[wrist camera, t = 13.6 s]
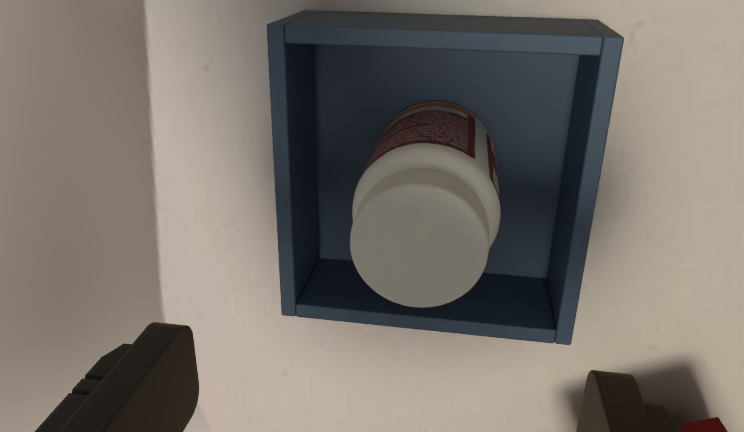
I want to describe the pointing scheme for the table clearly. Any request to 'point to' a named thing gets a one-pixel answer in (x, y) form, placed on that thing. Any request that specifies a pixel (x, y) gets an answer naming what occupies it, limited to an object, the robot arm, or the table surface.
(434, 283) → the pill bottle
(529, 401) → the table surface
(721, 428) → the alarm clock
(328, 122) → the blue bin
